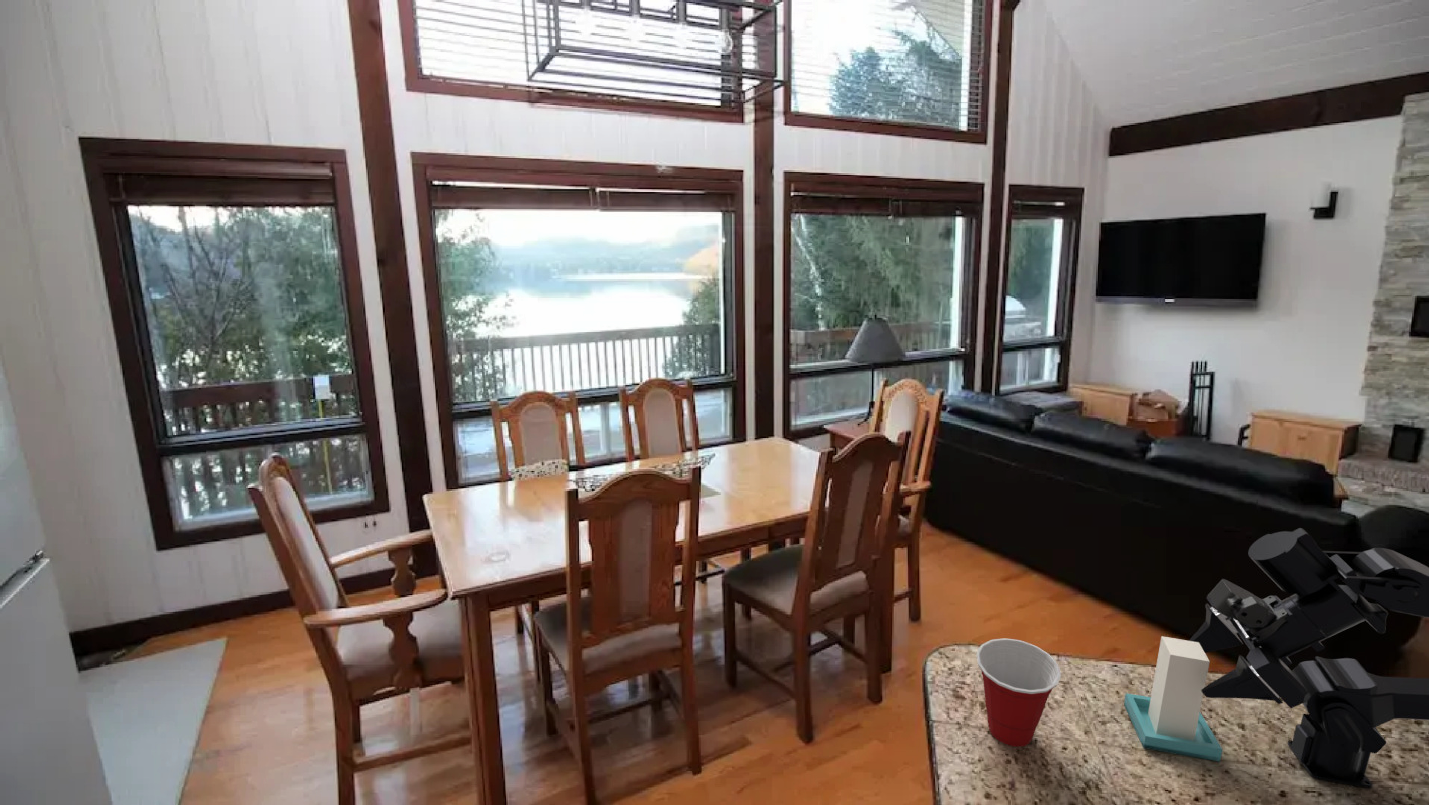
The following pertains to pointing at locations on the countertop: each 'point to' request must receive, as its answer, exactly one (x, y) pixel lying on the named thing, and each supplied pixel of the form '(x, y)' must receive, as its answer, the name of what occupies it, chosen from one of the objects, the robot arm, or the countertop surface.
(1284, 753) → the countertop surface
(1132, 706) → the teal dish
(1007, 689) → the plastic cup
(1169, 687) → the cream block
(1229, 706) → the countertop surface
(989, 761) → the countertop surface
